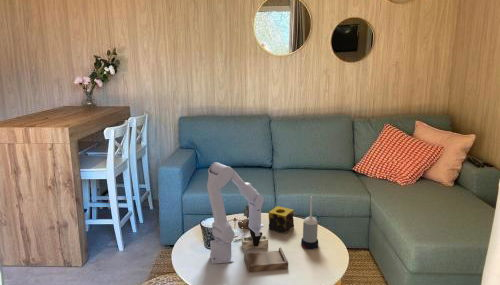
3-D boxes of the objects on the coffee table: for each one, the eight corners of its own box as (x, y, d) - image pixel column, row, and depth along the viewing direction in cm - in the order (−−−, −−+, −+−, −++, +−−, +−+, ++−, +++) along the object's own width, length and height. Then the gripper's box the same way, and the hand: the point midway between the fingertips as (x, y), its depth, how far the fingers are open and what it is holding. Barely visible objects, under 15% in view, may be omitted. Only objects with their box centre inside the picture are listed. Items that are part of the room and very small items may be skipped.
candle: (294, 227, 200) (294, 209, 198) (285, 234, 192) (285, 216, 190) (277, 222, 206) (277, 205, 203) (268, 229, 197) (268, 212, 195)
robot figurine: (245, 231, 196) (244, 209, 193) (233, 225, 203) (233, 204, 200) (260, 224, 203) (260, 203, 200) (249, 219, 210) (249, 198, 207)
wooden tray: (249, 272, 159) (249, 266, 158) (244, 256, 171) (244, 250, 170) (288, 268, 161) (288, 262, 161) (280, 253, 174) (280, 247, 173)
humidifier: (300, 248, 178) (301, 198, 172) (302, 240, 186) (303, 192, 180) (317, 250, 176) (319, 200, 171) (318, 242, 184) (320, 194, 178)
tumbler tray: (243, 249, 178) (243, 241, 177) (241, 244, 182) (241, 236, 181) (268, 247, 179) (268, 239, 178) (266, 242, 184) (266, 235, 183)
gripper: (266, 222, 171) (266, 249, 174) (260, 209, 185) (260, 235, 188) (251, 223, 170) (251, 251, 173) (246, 210, 184) (246, 236, 187)
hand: (254, 243), depth 180 cm, fingers closed on tumbler tray, 5 cm apart
